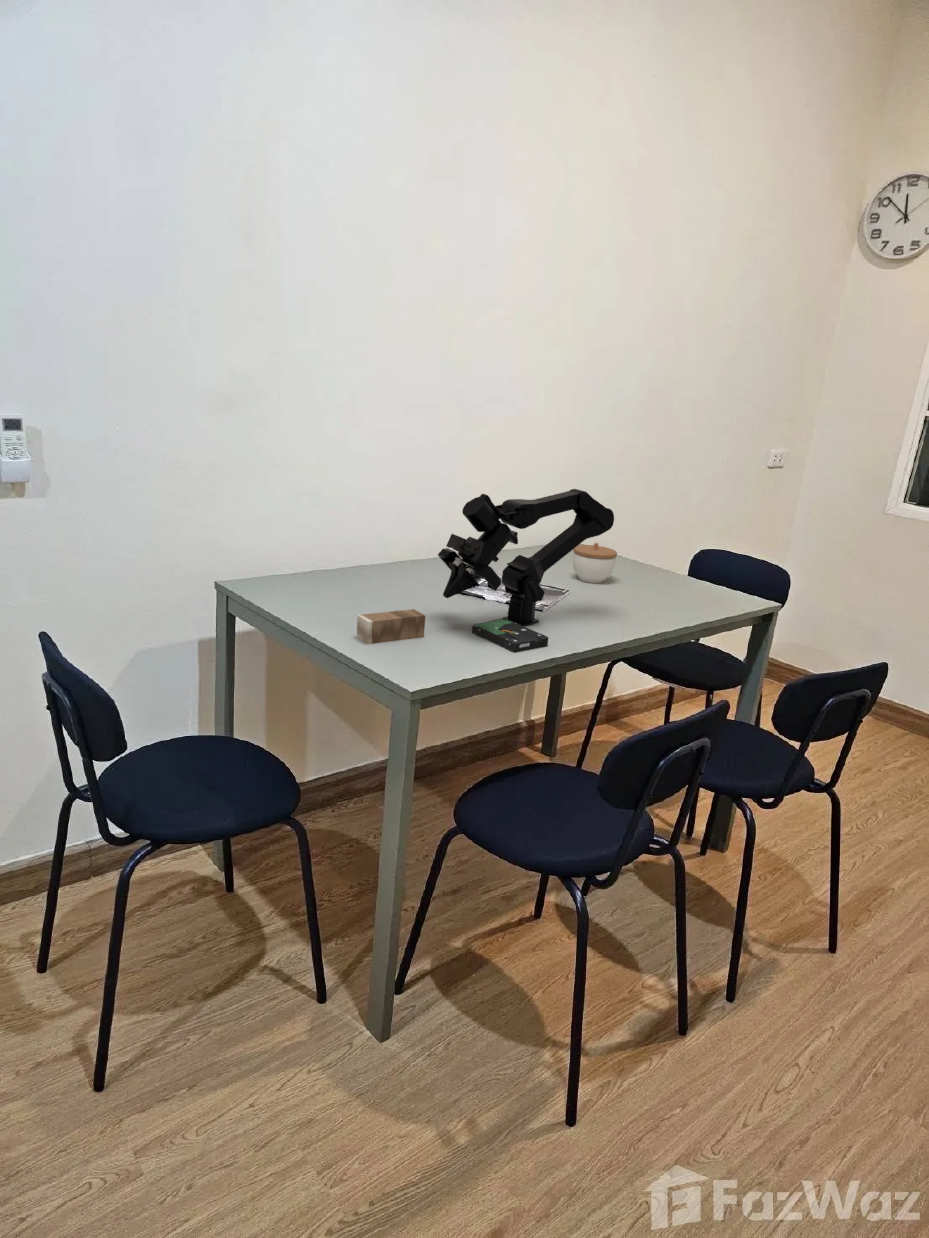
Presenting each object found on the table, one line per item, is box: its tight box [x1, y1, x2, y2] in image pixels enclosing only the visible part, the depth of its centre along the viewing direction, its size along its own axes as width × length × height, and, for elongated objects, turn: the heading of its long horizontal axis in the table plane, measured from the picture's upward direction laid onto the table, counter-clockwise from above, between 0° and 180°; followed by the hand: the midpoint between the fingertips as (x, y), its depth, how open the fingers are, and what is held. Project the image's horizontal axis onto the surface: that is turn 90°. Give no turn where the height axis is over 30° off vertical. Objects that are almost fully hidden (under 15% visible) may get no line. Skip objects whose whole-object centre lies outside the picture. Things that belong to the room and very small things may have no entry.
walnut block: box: [356, 608, 426, 645], centre depth 185 cm, size 5×5×14 cm
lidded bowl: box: [572, 542, 618, 584], centre depth 249 cm, size 13×13×11 cm
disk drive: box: [471, 618, 549, 654], centre depth 191 cm, size 10×3×15 cm
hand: (444, 596), depth 191 cm, fingers closed
